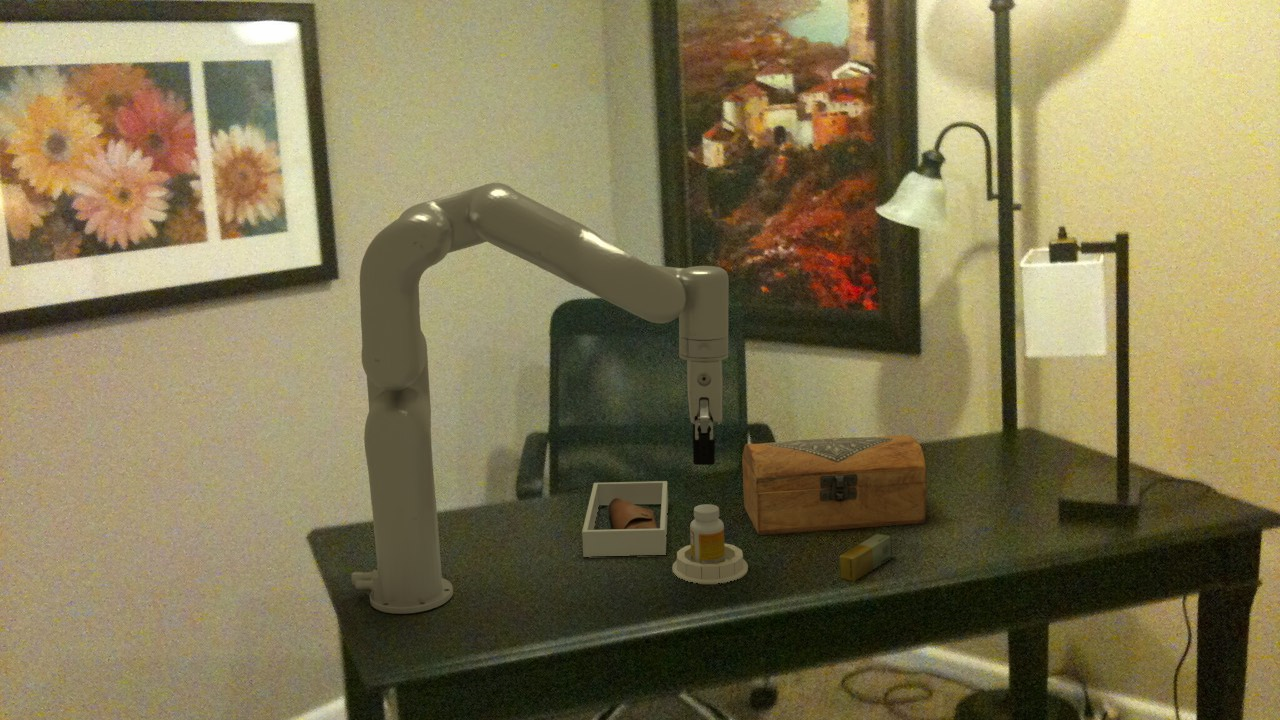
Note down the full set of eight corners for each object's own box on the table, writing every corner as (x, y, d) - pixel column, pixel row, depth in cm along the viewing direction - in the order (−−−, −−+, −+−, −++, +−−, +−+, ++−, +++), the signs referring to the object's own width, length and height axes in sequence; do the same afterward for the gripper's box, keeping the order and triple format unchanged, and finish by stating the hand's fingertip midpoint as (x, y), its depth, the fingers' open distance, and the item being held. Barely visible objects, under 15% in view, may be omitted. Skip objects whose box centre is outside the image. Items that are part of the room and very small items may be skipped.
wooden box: (756, 538, 205) (755, 460, 202) (742, 506, 221) (740, 433, 218) (929, 528, 206) (931, 450, 203) (902, 497, 222) (903, 425, 219)
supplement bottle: (732, 564, 191) (730, 506, 189) (710, 575, 187) (708, 516, 185) (705, 556, 195) (704, 499, 193) (684, 567, 191) (682, 509, 189)
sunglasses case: (668, 545, 202) (647, 514, 201) (634, 568, 202) (612, 537, 201) (653, 510, 220) (634, 481, 218) (621, 531, 220) (601, 503, 218)
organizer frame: (583, 557, 198) (582, 531, 197) (594, 505, 223) (593, 482, 222) (665, 555, 198) (664, 530, 197) (667, 504, 223) (667, 481, 222)
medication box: (878, 555, 195) (877, 532, 194) (893, 558, 193) (892, 535, 193) (839, 579, 186) (838, 554, 186) (854, 582, 185) (853, 558, 184)
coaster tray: (672, 585, 186) (671, 569, 185) (672, 556, 197) (672, 541, 197) (749, 583, 185) (749, 567, 185) (745, 554, 197) (745, 539, 196)
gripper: (730, 359, 175) (729, 471, 179) (726, 336, 192) (725, 439, 195) (678, 359, 175) (679, 471, 179) (679, 336, 192) (679, 439, 196)
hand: (703, 454), depth 187 cm, fingers open, 9 cm apart
